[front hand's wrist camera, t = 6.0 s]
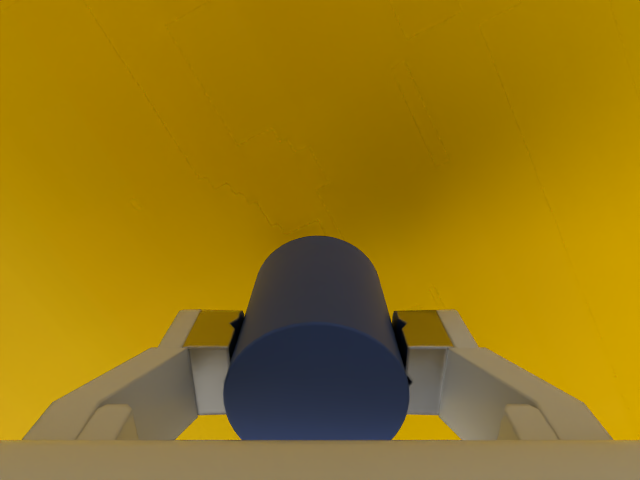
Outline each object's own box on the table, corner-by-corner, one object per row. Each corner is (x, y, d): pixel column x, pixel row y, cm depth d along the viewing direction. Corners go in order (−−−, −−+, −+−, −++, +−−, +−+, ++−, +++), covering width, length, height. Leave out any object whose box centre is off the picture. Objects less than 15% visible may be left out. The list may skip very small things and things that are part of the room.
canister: (298, 363, 13) (288, 493, 9) (230, 274, 12) (183, 377, 8) (402, 311, 13) (441, 427, 8) (339, 211, 11) (351, 288, 7)
